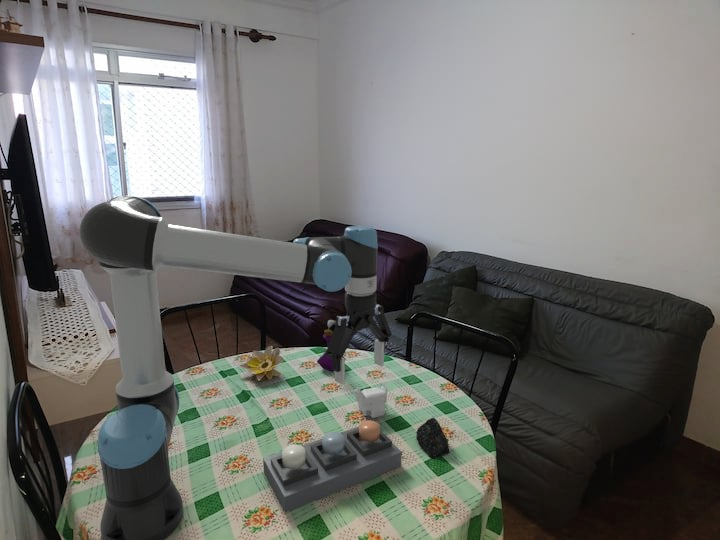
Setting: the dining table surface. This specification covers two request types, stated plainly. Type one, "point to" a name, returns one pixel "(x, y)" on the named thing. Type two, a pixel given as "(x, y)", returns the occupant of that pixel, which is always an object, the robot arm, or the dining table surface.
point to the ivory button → (293, 456)
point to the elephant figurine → (372, 400)
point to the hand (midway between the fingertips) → (360, 373)
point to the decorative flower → (264, 363)
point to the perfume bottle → (324, 360)
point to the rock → (432, 439)
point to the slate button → (333, 443)
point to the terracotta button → (369, 431)
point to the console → (330, 469)
